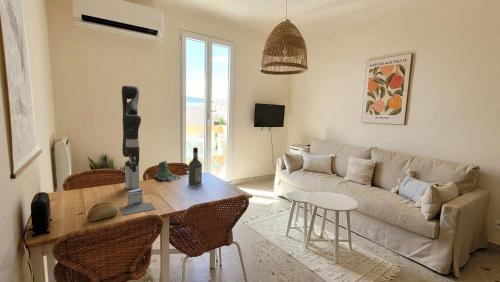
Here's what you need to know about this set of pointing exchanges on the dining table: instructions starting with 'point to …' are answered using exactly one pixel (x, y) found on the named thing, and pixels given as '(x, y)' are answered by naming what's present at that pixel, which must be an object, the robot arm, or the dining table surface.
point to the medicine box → (134, 197)
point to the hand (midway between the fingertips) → (132, 170)
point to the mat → (137, 208)
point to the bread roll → (101, 211)
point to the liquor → (195, 169)
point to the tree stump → (165, 173)
